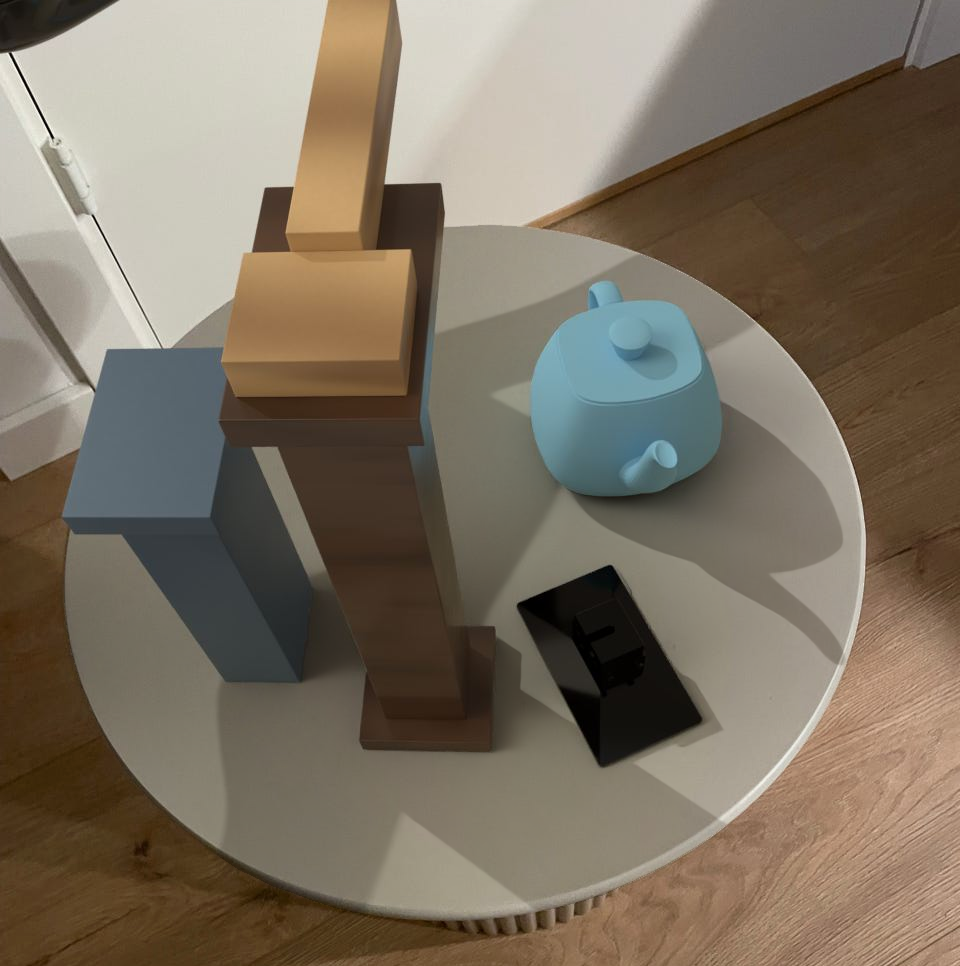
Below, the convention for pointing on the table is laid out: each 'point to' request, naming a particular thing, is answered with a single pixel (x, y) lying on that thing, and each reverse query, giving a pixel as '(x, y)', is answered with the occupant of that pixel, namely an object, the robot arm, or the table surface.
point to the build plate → (608, 665)
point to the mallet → (333, 237)
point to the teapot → (624, 398)
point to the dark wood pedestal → (384, 512)
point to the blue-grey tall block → (192, 510)
